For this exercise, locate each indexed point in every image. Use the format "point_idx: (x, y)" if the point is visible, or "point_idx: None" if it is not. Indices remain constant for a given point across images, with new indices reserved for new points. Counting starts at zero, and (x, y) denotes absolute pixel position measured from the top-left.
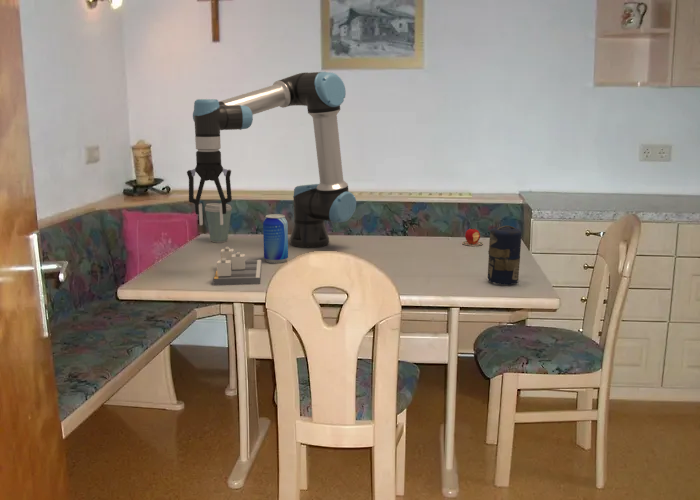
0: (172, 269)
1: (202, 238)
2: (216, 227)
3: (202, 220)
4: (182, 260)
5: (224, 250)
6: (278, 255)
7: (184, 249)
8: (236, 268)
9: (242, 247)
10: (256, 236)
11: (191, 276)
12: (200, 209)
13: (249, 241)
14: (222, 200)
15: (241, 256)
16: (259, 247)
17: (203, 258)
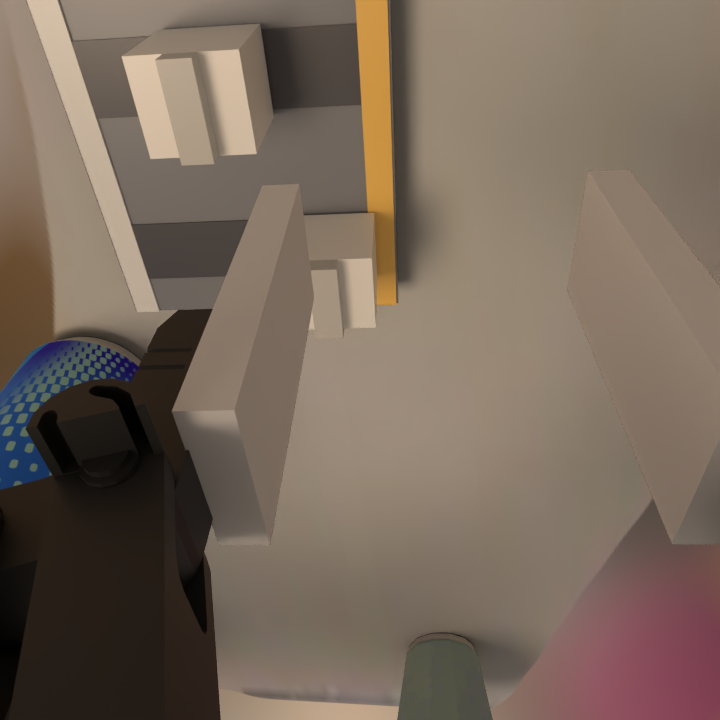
0: (699, 240)
1: (509, 676)
2: (452, 699)
3: (586, 286)
4: (615, 416)
5: (346, 286)
6: (41, 359)
7: (590, 570)
8: (223, 28)
9: (331, 578)
10: (304, 681)
11: (584, 36)
12: (705, 322)
13: (318, 638)
14: (120, 500)
15: (149, 59)
16: (256, 574)
17: (500, 443)
